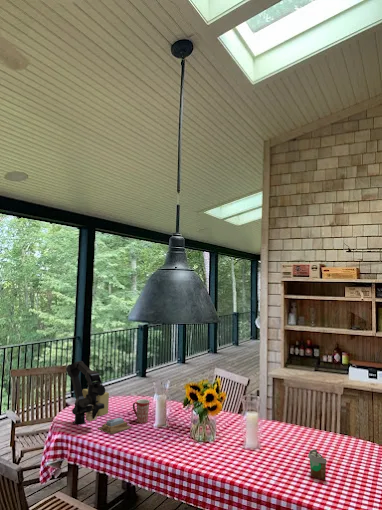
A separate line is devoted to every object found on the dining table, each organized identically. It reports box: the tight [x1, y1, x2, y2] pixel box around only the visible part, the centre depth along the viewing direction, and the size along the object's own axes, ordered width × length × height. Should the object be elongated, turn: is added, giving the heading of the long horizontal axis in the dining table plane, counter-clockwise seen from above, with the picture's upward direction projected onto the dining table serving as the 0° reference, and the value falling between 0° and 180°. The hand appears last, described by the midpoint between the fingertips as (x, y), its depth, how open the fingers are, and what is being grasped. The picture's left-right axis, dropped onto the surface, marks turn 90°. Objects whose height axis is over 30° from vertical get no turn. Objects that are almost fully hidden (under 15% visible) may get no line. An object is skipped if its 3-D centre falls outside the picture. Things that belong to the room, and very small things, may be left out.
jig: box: [97, 421, 132, 435], centre depth 252 cm, size 14×16×3 cm
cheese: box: [82, 388, 110, 417], centre depth 285 cm, size 22×10×15 cm, turn 58°
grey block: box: [106, 417, 125, 427], centre depth 253 cm, size 4×10×5 cm, turn 137°
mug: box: [132, 398, 151, 424], centre depth 268 cm, size 13×9×14 cm
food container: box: [307, 448, 327, 481], centre depth 194 cm, size 12×6×10 cm, turn 5°
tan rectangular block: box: [85, 411, 98, 422], centre depth 253 cm, size 4×6×4 cm
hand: (91, 418), depth 252 cm, fingers closed on tan rectangular block, 4 cm apart
